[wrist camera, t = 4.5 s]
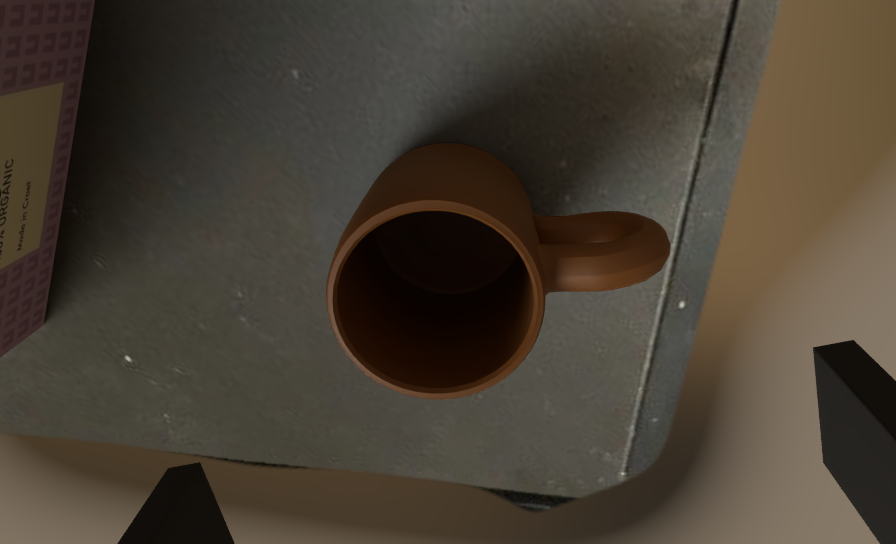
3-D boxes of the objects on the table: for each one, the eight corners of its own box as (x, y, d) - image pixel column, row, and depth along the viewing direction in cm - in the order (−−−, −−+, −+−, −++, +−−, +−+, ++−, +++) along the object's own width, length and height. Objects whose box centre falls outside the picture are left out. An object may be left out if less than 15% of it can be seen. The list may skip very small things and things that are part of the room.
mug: (623, 102, 31) (675, 147, 22) (642, 270, 34) (696, 369, 25) (347, 155, 33) (294, 217, 24) (385, 312, 35) (351, 419, 26)
